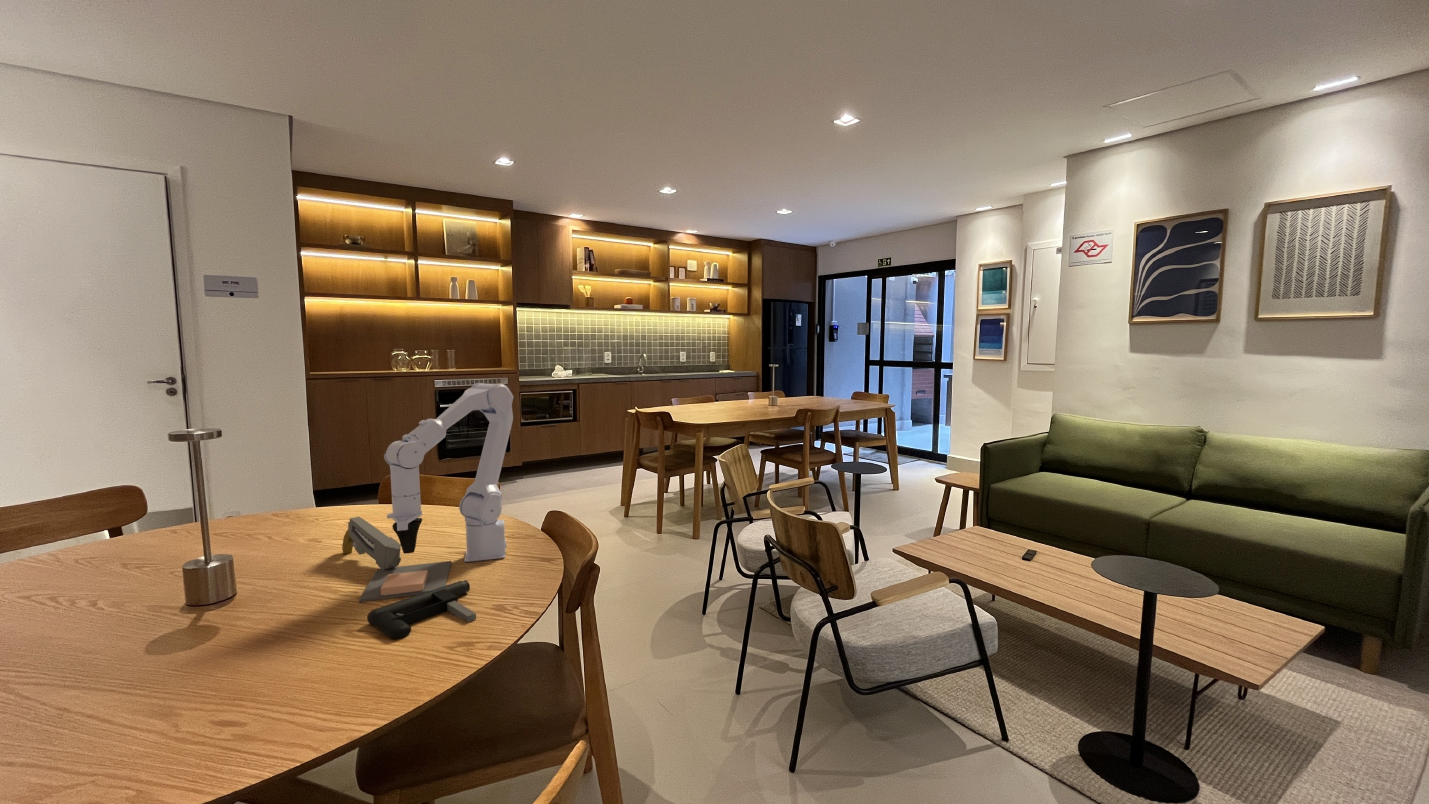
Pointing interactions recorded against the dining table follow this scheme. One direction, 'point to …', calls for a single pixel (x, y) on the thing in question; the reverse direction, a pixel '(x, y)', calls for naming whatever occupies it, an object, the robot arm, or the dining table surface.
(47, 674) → the dining table surface
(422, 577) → the tile
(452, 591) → the door handle
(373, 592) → the mat
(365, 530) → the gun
